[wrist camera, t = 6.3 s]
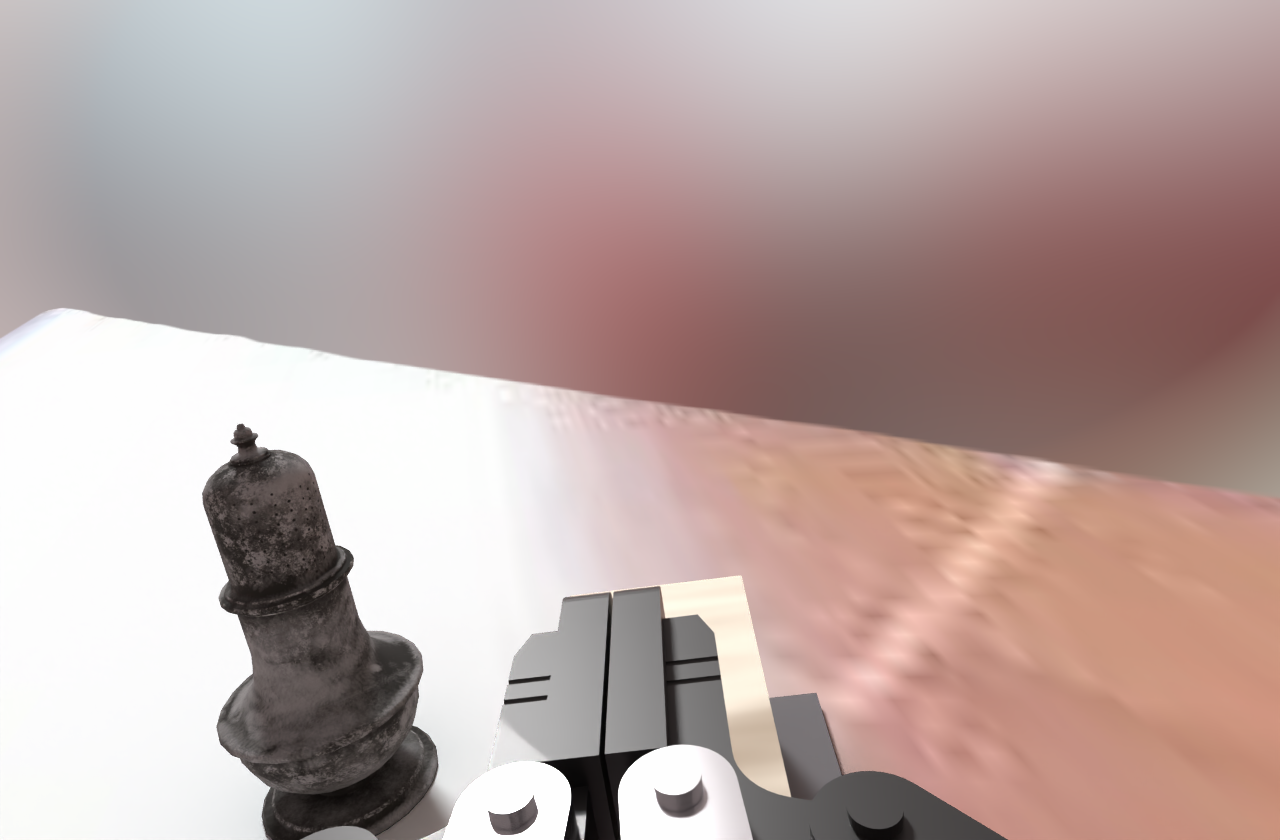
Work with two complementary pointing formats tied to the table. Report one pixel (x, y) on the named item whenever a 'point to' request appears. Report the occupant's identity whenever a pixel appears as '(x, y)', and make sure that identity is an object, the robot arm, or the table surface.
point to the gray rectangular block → (804, 744)
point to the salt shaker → (310, 659)
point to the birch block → (735, 673)
